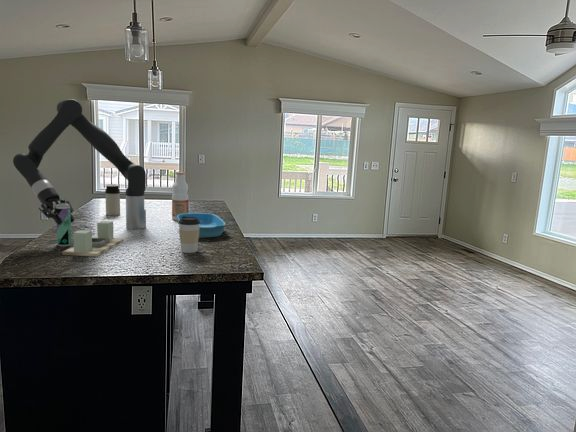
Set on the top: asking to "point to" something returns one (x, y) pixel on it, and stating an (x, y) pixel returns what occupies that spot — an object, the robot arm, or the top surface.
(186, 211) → the fruit juice
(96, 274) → the top surface
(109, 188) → the travel mug
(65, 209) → the spray can
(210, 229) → the casserole dish
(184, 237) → the coffee cup
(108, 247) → the wooden board
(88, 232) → the sage pillars
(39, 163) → the robot arm
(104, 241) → the metal collar
